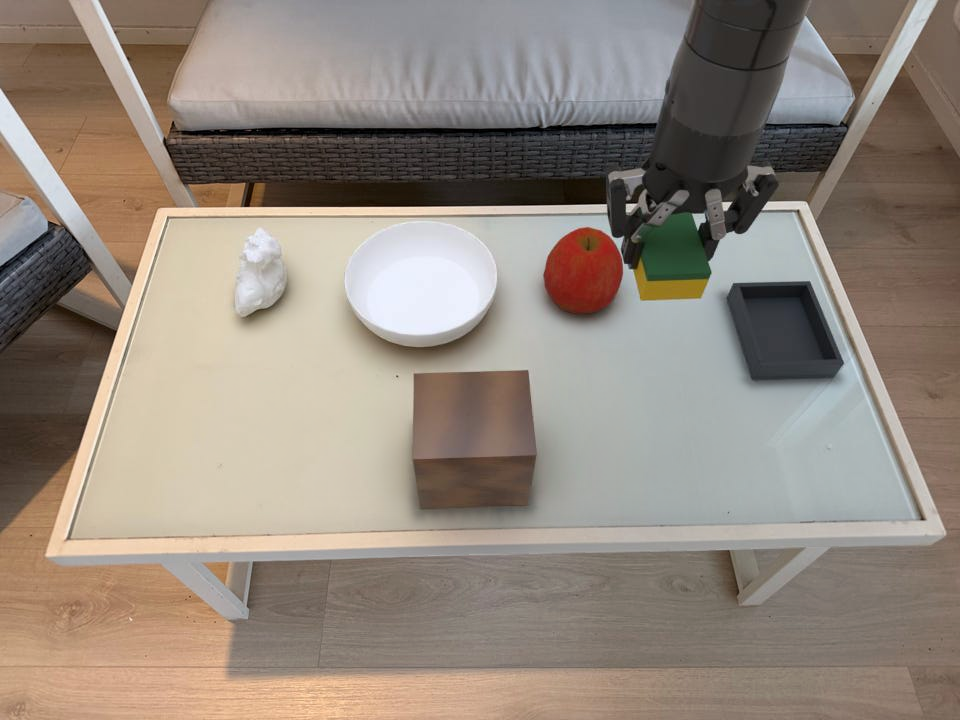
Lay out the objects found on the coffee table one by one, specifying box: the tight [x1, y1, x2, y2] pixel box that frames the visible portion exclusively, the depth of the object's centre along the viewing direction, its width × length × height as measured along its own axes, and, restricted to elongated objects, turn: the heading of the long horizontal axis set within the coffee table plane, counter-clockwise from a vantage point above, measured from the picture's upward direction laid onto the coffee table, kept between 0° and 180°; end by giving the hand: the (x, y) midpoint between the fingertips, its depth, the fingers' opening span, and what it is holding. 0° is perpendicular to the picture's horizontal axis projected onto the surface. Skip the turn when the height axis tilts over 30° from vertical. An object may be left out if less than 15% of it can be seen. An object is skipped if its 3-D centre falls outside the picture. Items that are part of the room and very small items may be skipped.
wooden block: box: [412, 369, 538, 510], centre depth 75 cm, size 12×10×12 cm
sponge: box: [632, 212, 712, 302], centre depth 63 cm, size 8×6×4 cm
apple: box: [542, 226, 624, 315], centre depth 91 cm, size 10×10×10 cm
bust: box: [234, 227, 288, 318], centre depth 91 cm, size 12×8×11 cm
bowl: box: [343, 220, 499, 348], centre depth 91 cm, size 20×20×6 cm
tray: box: [726, 280, 845, 381], centre depth 90 cm, size 13×10×3 cm
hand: (664, 261), depth 64 cm, fingers closed on sponge, 5 cm apart
